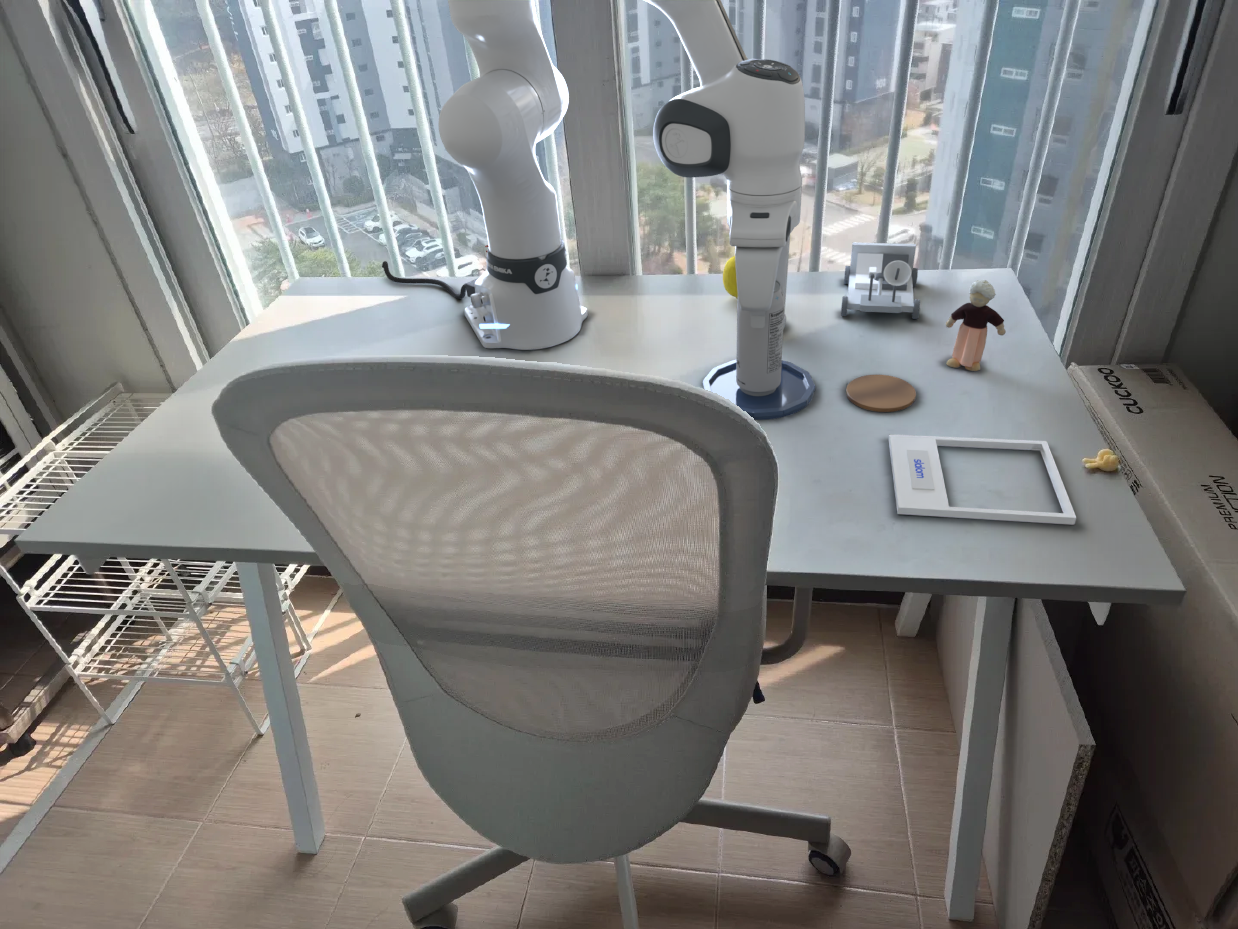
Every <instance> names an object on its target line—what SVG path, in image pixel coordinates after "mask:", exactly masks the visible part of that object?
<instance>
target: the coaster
mask: <svg viewBox="0 0 1238 929" xmlns="http://www.w3.org/2000/svg"><path fill="white" fill-rule="evenodd" d="M845 396H846V398H847V399H848V401H849V402H851V403H852V404H853V405H855V406H856V407H858V408H861V409H863V410H867V411H871V412H875V413H893V412H898V411H899V412H900V411H902V410H905V409H907V408H909V407H911V406H912V405H913V404H914V402H915V401H916V397H917V392H916V389H915V387H914V386H913V385H912V384H911V383H910V382H908V381H906V380H904V379H902V378H900V377H897V376H893V375H889V374H888V375H887V374H866V375H862V376H857V377H855V378H854V379H852V380H850V382H849V383H848V384H847V386H846V388H845Z"/></svg>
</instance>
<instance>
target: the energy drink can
mask: <svg viewBox="0 0 1238 929" xmlns="http://www.w3.org/2000/svg"><path fill="white" fill-rule="evenodd" d="M780 287H781V284H780V283H779V282H778V281H777V280H776V281H775V287H774V293H773V299H772V304H771V307H770V309H769V310H768V311H766V322H765V326H764V327H763V328H753V327H751V314H750V311H744V310H742V309H741V308H740V305H739V300H738V297H737V298H736V300H737V301H736V302H737V303H736V304H737V305H736V306H737V307H736V359H735V360H736V383H737V385H738V386H739V387H740V389H741V390H742V391H743V392H744V393H746V394H748V395H752V396H765V395H769V394H771V393H773V392H774V391H775V390H776V388H777V387H778V386H779V385H780V382H781V365H782V360H783V343H784V329H783V325H784V305H785V306H786V302H785V296H784V294H783V292H782V290H781V288H780Z"/></svg>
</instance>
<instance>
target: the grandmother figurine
mask: <svg viewBox="0 0 1238 929" xmlns="http://www.w3.org/2000/svg"><path fill="white" fill-rule="evenodd" d="M968 289H969V290H968V292H969V301H970V302H966V303H964V304H963V305H961V306H959V307H958V308H956V309H955V310H954V311H953V312H952V313H951V314H950V316H949V318H948V320H947V321H946V322H945V324H944V325H945V327H946V328H948V329H950V328H952V327H953V326H954V324H956V322H957V321H960V320H962V321H961V324H960V325H959V328H958V331H957V334H956V339H955V342H954V345H953V351H952V354H951V358H949V359H947V361H946V366H947V367H949V368H955V369H957V368H960V367H962V366H963V367H964V368H965V370H968V371H970V372H971V371H972V372H978V371H980V370H981V362H982V358H983V355H984V351H985V347H986V344H987V343H986V342H987V338H988V324H990V325H991V326H993V327H995V329H996V330H997V331H996V332H997V335H999V336H1004V335H1005V334H1006V332H1007V331H1006V329H1005V325H1004V322H1005V319H1004V317H1002V316H1001V315H1000V313H998V311H996V310H995V309H994V308H992V307H990V306H989V305H988V303H989V302H990V301H992V300H993V299H994V298H995V296H997V294H996V290H995V288H994V286H993V284H991V283H990V282H989V281H988V280H986V279H978V280H975V281H973V282H972V283H971V284H970V286H969V288H968Z"/></svg>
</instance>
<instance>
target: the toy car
mask: <svg viewBox="0 0 1238 929" xmlns="http://www.w3.org/2000/svg"><path fill="white" fill-rule="evenodd" d="M916 248H917V243H889V242H888V243H887V242H885V243H884V242H855V241H853V242H852V244H851V253H850V254H851V255H850V264H849V265H845V267H844V277H843V284H844V285H848V289H847V296H846V295H845V296H842V298H841V310H840V316H842V317H847V314H848V310H852V311H859V312H864V313H865V312H866V313H867V312H868V313H887V314H888V313H889V314H890V313H892V314H901V313H911V319H912V320H918V319H919V317H920V310H921V299H919V298H918V299H917V298H914V287H917V282H918V275H919V269H918V267H914V264H915V257H916V250H917V249H916Z"/></svg>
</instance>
